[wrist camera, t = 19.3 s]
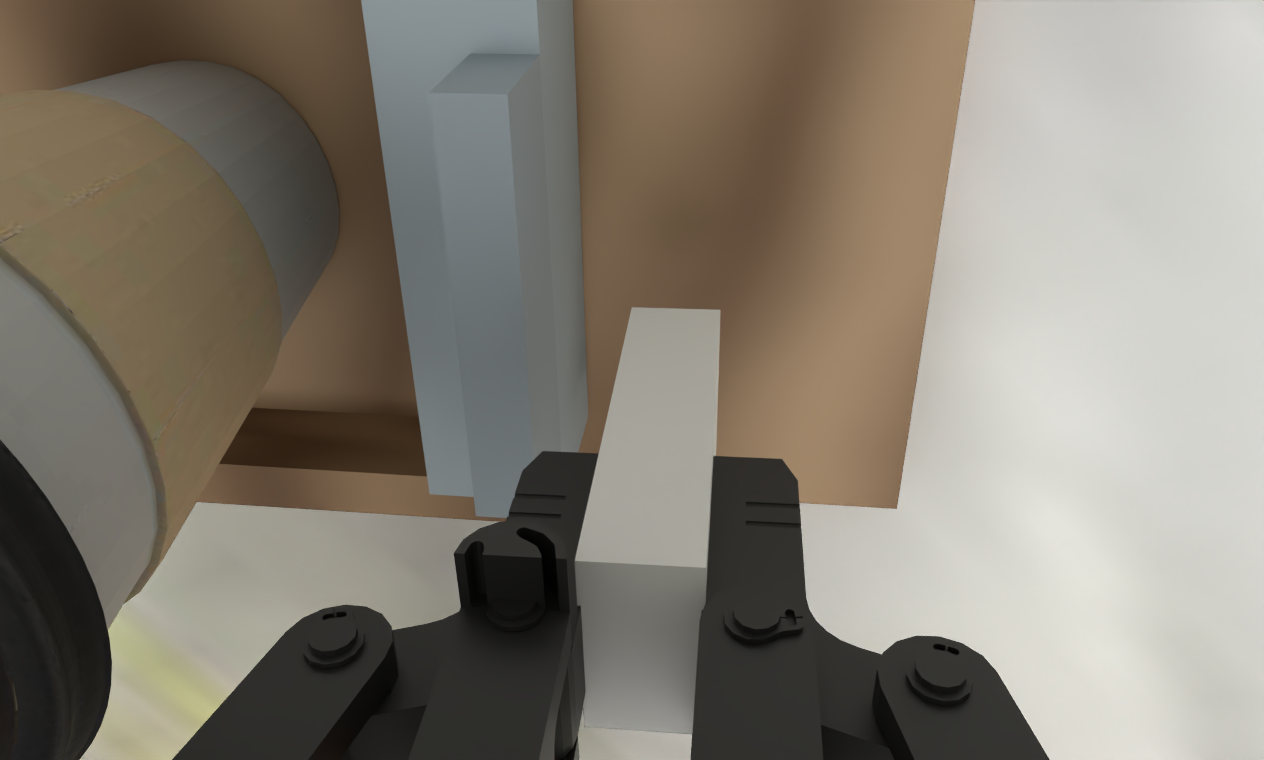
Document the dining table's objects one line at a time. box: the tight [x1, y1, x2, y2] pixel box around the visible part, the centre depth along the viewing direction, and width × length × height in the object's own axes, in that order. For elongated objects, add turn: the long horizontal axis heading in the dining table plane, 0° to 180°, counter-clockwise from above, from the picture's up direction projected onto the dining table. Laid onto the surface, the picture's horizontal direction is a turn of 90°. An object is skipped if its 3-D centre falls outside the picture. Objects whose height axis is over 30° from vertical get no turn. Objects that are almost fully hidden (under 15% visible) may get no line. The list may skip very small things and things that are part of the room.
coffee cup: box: [0, 60, 340, 760], centre depth 17 cm, size 9×9×15 cm
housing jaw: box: [361, 0, 588, 518], centre depth 20 cm, size 3×11×6 cm, turn 1°
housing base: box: [0, 0, 975, 522], centre depth 22 cm, size 24×16×4 cm, turn 91°
